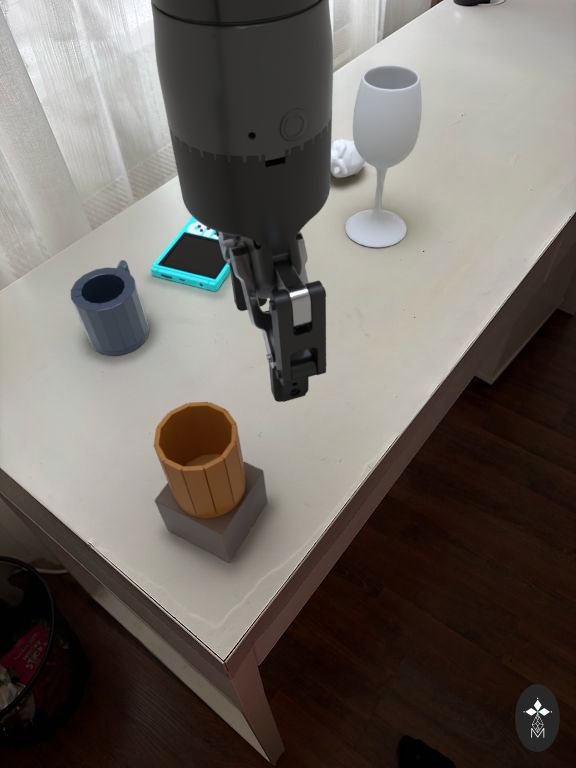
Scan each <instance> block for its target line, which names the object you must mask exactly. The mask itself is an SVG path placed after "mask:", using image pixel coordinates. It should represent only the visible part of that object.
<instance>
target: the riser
mask: <svg viewBox="0 0 576 768" xmlns="http://www.w3.org/2000/svg"><path fill="white" fill-rule="evenodd" d="M243 463H244V468H245V480H246V485H245V491H244V494H243V496H242V498H241V500H240V501H239V502H238V504H237V505H236V506H235V507H234V508H233V509H231V510H230V511H229V512H227V513H225V514H223V515H221V516H218V517H213V518H198V517H195V516H192V515H190V514H188V513H186V512H185V511H183V510H182V509H181V508H180V507H179V505H178V504H177V502H176V500H175V498H174V496H173V494H172V492H171V489H170V487H169V484H168V482H166V484H165V486H164V487H163V488H162V489H161V491H160V492H159V494H158V495H157V496H156V498H155V499H154V503H155V505H156V507H157V510H158V512H159V514H160V516H161V519H162V521H163V523H164V525H165V528H166V530H167V531H168V532H170V533H172V534H174V535H176V536H177V537H179V538H182V539H183V540H186V541H187V542H189V543H190V544H193V545H195V546H197V547H198V548H201V549H202V550H204V551H206V552H208V553H210V554H212V555H214V556H215V557H217V558H219V559H221V560H223V561H225V562H227V563H229V564H230V563H231V562H232V560H233V559H234V557H235V555H236V554H237V552H238V551H239V549H240V547H241V546H242V544H243V542H244V541H245V539H246V537H247V535H248V534H249V532H250V531H251V529H252V528H253V526H254V524H255V523H256V521H257V519H258V518H259V516H260V514H261V513H262V511H263V510H264V508H265V506H266V505H267V503H268V496H267V488H266V479H265V473H264V470H263V469H261V468H260V467H257V466H255V465H252V464H250V463H248V462H247V461H244V460H243Z"/></svg>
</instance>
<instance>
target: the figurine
mask: <svg viewBox="0 0 576 768" xmlns="http://www.w3.org/2000/svg"><path fill="white" fill-rule="evenodd" d="M365 163H366V161H365V160H364V159H363V158H362V157H361V156H360V155H359V153H358V152H357V150H356V147H355V145H354V140H353V139H352V140H350V139H342V138H341V139H336V140H334V141H333V142H331V172H330V173H331V175H332V176H334V178H337V179H339V178H346V177H350V176H353V175H355V176H356V175H357V174H358V173H359V172H360V171H361V170H362V168H363V167H364V164H365Z"/></svg>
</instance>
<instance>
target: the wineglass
mask: <svg viewBox="0 0 576 768" xmlns="http://www.w3.org/2000/svg"><path fill="white" fill-rule="evenodd" d="M421 85H422V83H421V77H420V75H419V73H418V72H417V71H415V70H414V69H412V68H410V67H408V66H404V65H398V64H383V65H377V66H373V67H371V68H368V69H367V70H365V72H363V74H362V77H361V79H360V82H359V86H358V90H357V93H356V98H355V102H354V108H353V116H352V140H354V145H355V147H356V150H357V152H358V153H359V155H360V156H361V157H362V158H363V159H364V160H365V163H367V164H368V165H370V166H372V167H374V168H375V170H376V187H375V196H374V202H373V203H374V204H373V208H372V209H371V208H370V209H365V210H361V211H359V212H356V213H354V214H353V215H351V216H350V217H349V218H348V219H347V221H346V223H345V225H344V230H345V233H346V234H347V236H348V237H349V239H350V240H352V241H353V242H355V243H356V244H358V245H360V246H363V247H369V248H385V247H390V246H393V245H396V244H398V243H400V241H402V240H403V239H404V237H406V235H407V231H408V227H407V224H406V222H405V220H404V219H403V218H402V217H401V216H399V215H398V214H395V212H391V211H389V210H385V209H383V196H384V187H385V180H386V175H387V171H388V170H389V169H390V168H392V167H395V166H397V165H400V163H402V162H403V161H405V160H406V159H407V158H408V157H409V155H410V154H411V153H412V152H413V150H414V148H415V146H416V144H417V141H418V138H419V134H420V130H421V129H420V128H421V123H422V109H423V108H422V107H423V103H422V102H423V101H422V99H423V98H422V86H421Z"/></svg>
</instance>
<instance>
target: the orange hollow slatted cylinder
mask: <svg viewBox="0 0 576 768" xmlns="http://www.w3.org/2000/svg"><path fill="white" fill-rule="evenodd" d="M153 448H154V450H155V451H154V452H155V453H156V456H157V459H158V461H159V463H160V466H161V469H162V471H163V473H164V476H165V479H166V483H168V484H169V487H170V489H171V492H172V494H173V496H174V498H175V500H176V502H177V504H178V505H179V507H180V508H181V509H182V510H183V511H185V512H186V513H188V514H190V515H192V516H195V517H198V518H213V517H218V516H221V515H223V514H225V513H227V512H229V511H230V510H231V509H233V508H234V507H235V506H236V505H237V504H238V502H239V501H240V500H241V498H242V496H243V494H244V491H245V485H246V480H245V468H244V463H243V461H244V457H243V452H242V445H241V440H240V435H239V430H238V425H237V422H236V421H235V420H234V418H233V417H232V415H231V414H230V412H229V410H227V408H224V407H222V406H220V405H217V404H216V403H213V402H211V401H210V402H208V401H198V402H195V401H194V402H188V403H184V404H182V405H180V406H178V407H176V408H174V409H171V410H170V411H169V412H167V413H166V414H165V416H163V418H162V419H161V421H160V422H159V423H158V424H157V426H156V427H155V432H154V441H153Z"/></svg>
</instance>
